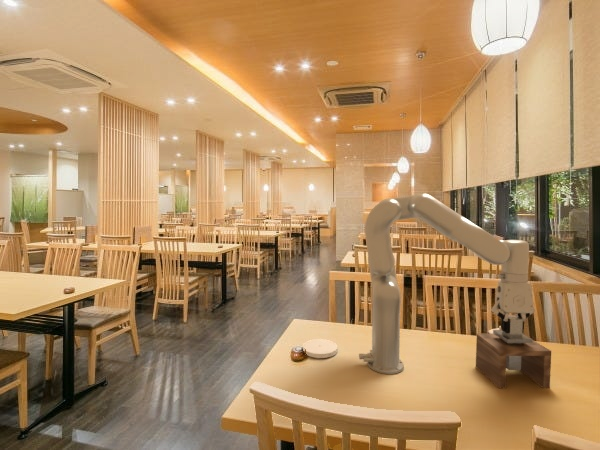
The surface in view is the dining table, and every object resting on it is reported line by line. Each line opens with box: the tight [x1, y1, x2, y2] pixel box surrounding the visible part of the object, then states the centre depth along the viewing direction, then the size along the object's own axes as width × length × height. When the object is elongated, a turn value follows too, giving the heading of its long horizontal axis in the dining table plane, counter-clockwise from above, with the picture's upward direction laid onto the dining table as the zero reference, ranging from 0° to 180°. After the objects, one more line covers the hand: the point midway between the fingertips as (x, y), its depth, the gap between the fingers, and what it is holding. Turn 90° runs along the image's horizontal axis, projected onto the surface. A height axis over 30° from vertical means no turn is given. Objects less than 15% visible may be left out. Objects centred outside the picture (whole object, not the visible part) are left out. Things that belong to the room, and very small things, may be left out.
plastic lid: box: [301, 338, 339, 359], centre depth 133 cm, size 14×14×2 cm
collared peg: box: [493, 314, 533, 371], centre depth 112 cm, size 8×8×17 cm
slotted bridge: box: [475, 333, 552, 389], centre depth 112 cm, size 16×14×12 cm
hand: (512, 331), depth 112 cm, fingers closed on collared peg, 4 cm apart
